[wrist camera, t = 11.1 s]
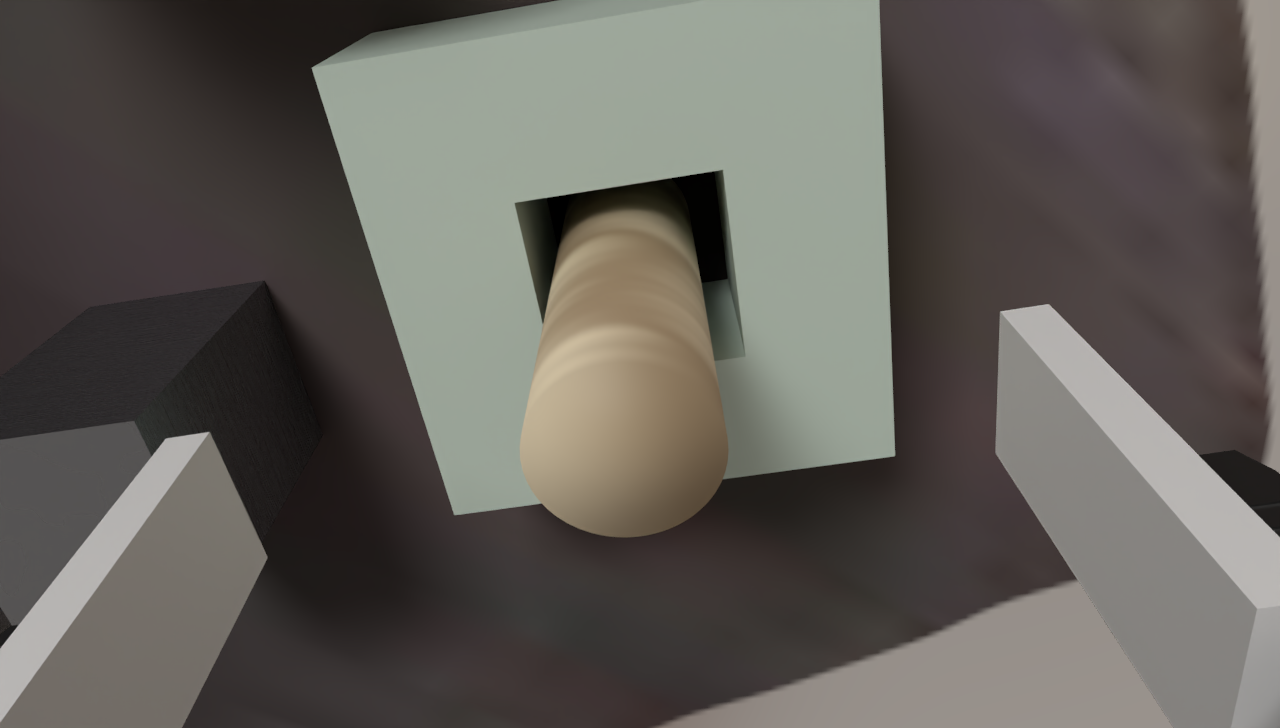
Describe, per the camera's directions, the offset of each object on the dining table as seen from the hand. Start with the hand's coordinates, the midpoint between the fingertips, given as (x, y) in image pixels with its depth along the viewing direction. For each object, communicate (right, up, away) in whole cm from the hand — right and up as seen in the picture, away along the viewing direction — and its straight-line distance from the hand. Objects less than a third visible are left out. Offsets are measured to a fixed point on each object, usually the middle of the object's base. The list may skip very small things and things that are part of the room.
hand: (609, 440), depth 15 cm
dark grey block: (-13, +1, +13) cm, 19 cm away
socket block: (0, +6, +11) cm, 12 cm away
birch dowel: (0, +5, +11) cm, 12 cm away
